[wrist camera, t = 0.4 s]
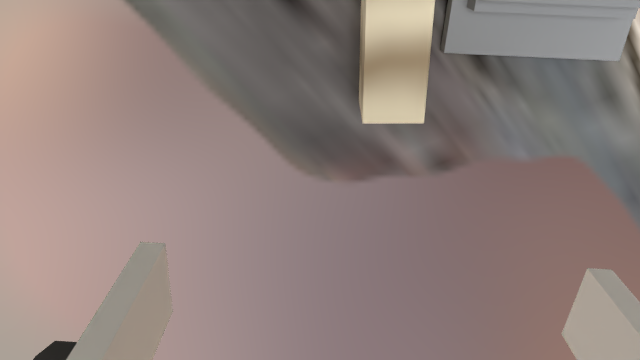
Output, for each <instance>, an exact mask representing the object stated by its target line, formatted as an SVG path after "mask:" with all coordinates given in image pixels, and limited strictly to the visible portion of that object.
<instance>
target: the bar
mask: <svg viewBox="0 0 640 360" xmlns="http://www.w3.org/2000/svg"><path fill="white" fill-rule="evenodd" d="M434 6H435V0H361V31H360V73H359V104H360V110H361V116H362V122H363V124H379V123H424V116H425V105H426V94H427V83H428V72H429V61H430V50H431V39H432V28H433V17H434Z"/></svg>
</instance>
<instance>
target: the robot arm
mask: <svg viewBox="0 0 640 360" xmlns="http://www.w3.org/2000/svg"><path fill="white" fill-rule="evenodd" d="M172 312H173V309H172V299H171V290H170V281H169V272H168V263H167V254H166V245H165V243H149V242H140V244H139V245H138V247H137V248H136V250H135V252H134V253H133V255H132V256H131V258H130V260H129V261H128V263H127V264H126V266H125V267H124V269H123V271H122V272H121V274H120V275H119V277H118V279H117V280H116V282H115V283H114V285H113V286H112V288H111V290H110V291H109V293H108V295H107V296H106V297H105V299H104V301H103V302H102V304H101V306H100V307H99V309H98V310H97V312H96V313H95V315H94V317H93V318H92V320H91V321H90V323H89V324H88V326H87V328H86V329H85V331H84V332H83V334H82V336H81V337H80V339H79V340H78V342H65V341H54V342H53V343H52V344H50V345H49V346H48V347H47V348H45V349H44V350H43V351H42V352H41V353H39V354H38V355H37V356H35V358H34V359H33V360H152V359H153V357H154V355H155V352H156V350H157V348H158V345H159V343H160V340H161V338H162V336H163V334H164V331H165V329H166V326H167V324H168V322H169V319H170V317H171V315H172ZM562 335H563V337H564V339H565V340H566V342H567V344H568V345H569V347H570V349H571V350H572V352H573V354H574V356H575V357H576V359H577V360H640V302H639V301H638V300H637V299H636V298H635V296H634V295H633V294H632V293H631V292H630V290H629V289H628V288H627V287H626V286H625V285H624V284H623V282H622V281H621V280H620V279H619V278H618V276H617V275H616V274H615V273H614V272H613V271H612V270H607V269H591V268H587V270H586V273H585V276H584V278H583V281H582V283H581V286H580V288H579V291H578V294H577V296H576V299H575V301H574V304H573V306H572V309H571V311H570V314H569V317H568V319H567V322H566V324H565V327H564V330H563V332H562Z"/></svg>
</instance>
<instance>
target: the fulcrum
mask: <svg viewBox="0 0 640 360" xmlns="http://www.w3.org/2000/svg"><path fill="white" fill-rule="evenodd" d="M638 8H640V0H448V4H447V10H446V17H445V23H444V29H443V36H442V42H441V50H442V51H443V52H444V53H456V54H477V55H499V56H520V57H542V58H564V59H585V60H607V61H619V60H620V57H621V54H622V51H623V48H624V45H625V42H626V38H627V35H628V32H629V29H630V26H631V23H632V20H633V19H635V17H636V14H637V11H638Z"/></svg>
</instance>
